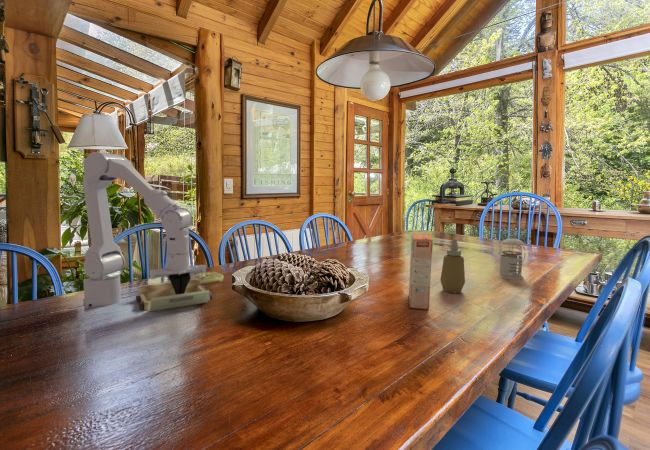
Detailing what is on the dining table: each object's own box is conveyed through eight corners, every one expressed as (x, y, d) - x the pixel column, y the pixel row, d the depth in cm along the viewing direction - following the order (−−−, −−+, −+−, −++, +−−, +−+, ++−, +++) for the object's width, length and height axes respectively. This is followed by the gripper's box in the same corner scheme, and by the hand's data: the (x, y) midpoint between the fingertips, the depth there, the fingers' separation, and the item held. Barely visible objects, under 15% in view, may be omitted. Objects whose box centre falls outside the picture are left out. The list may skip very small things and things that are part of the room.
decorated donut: (196, 290, 130) (196, 279, 130) (190, 282, 140) (190, 272, 139) (227, 286, 135) (227, 275, 135) (219, 279, 145) (219, 269, 144)
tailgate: (150, 314, 104) (151, 302, 101) (149, 310, 105) (151, 298, 102) (207, 305, 112) (210, 293, 109) (206, 301, 113) (208, 290, 110)
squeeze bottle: (461, 288, 136) (464, 237, 134) (467, 295, 128) (470, 241, 126) (437, 287, 137) (440, 237, 134) (442, 294, 129) (444, 240, 126)
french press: (491, 274, 156) (495, 213, 153) (511, 272, 161) (515, 212, 158) (512, 280, 147) (516, 215, 144) (532, 277, 152) (537, 214, 149)
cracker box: (430, 310, 112) (433, 239, 110) (409, 309, 113) (411, 238, 111) (427, 296, 126) (430, 232, 123) (408, 295, 127) (410, 232, 125)
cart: (140, 316, 105) (140, 296, 104) (135, 304, 114) (134, 286, 114) (213, 304, 115) (212, 286, 114) (202, 294, 125) (202, 278, 124)
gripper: (152, 258, 99) (154, 308, 101) (208, 252, 107) (209, 300, 109) (147, 253, 105) (149, 301, 107) (201, 248, 113) (202, 293, 115)
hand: (179, 300), depth 108 cm, fingers closed, pressing on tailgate
